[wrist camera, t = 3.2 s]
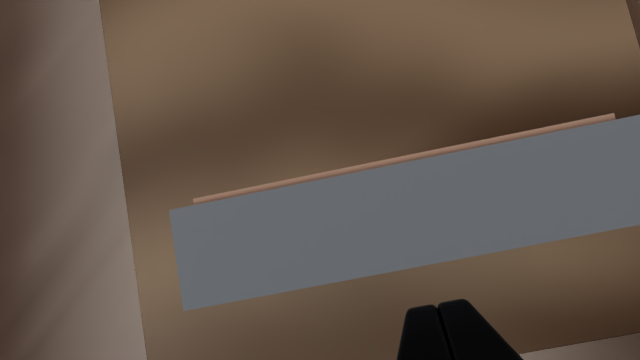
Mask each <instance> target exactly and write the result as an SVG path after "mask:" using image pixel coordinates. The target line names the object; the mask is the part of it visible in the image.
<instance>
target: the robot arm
mask: <svg viewBox="0 0 640 360" xmlns="http://www.w3.org/2000/svg"><path fill="white" fill-rule="evenodd" d="M396 360H523V359H522V358H521V357H520V355H519V354H518V353H517V352H516V351H515V350H514V349H513V348H512V347H511V346H510V345H509V344H508V343H507V342H506V340H505V339H504V338H503V337H502V336H501V335H500V334H499V333H498V332H497V331H496V330H495V329H494V328H493V327H492V326H491V324H490V323H489V322H488V321H487V320H486V319H485V318H484V317H483V316H482V315H481V314H480V313H479V312H478V311H477V309H476V308H475V307H474V306H473V305H472V304H471V303H470V302H469V301H467V300H466V299H457V300H451V301H446V302H441V303H439V304H438V306H437V307H436V306H435V305H432V304H429V305H424V306H418V307H413V308H410V309H408V310H407V312H406V315H405V320H404V325H403V329H402V334H401V339H400V344H399V349H398V354H397V359H396Z"/></svg>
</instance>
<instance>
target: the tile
mask: <svg viewBox="0 0 640 360" xmlns="http://www.w3.org/2000/svg"><path fill="white" fill-rule="evenodd" d="M193 202H194V205H192V206H187V207H182V208H177V209H172V210H169V215H170V222H171V229H172V236H173V242H174V249H175V256H176V263H177V270H178V277H179V284H180V291H181V297H182V304H183V311H187V310H192V309H198V308H203V307H208V306H214V305H219V304H224V303H229V302H235V301H240V300H245V299H251V298H256V297H261V296H266V295H272V294H277V293H282V292H288V291H293V290H298V289H303V288H309V287H314V286H319V285H325V284H330V283H335V282H340V281H346V280H351V279H356V278H362V277H367V276H372V275H377V274H383V273H388V272H393V271H399V270H404V269H409V268H414V267H420V266H425V265H430V264H436V263H441V262H446V261H452V260H457V259H462V258H467V257H473V256H478V255H483V254H489V253H494V252H499V251H504V250H510V249H515V248H520V247H526V246H531V245H536V244H541V243H547V242H552V241H557V240H563V239H568V238H573V237H578V236H584V235H589V234H594V233H600V232H605V231H610V230H615V229H621V228H626V227H631V226H637V225H640V115H635V116H630V117H626V118H621V119H616V118H615V115H614V113H611V114H607V115H602V116H597V117H592V118H587V119H582V120H577V121H572V122H567V123H562V124H558V125H553V126H548V127H543V128H538V129H533V130H528V131H523V132H518V133H513V134H508V135H504V136H499V137H494V138H489V139H484V140H479V141H474V142H469V143H464V144H459V145H455V146H450V147H445V148H440V149H435V150H430V151H425V152H420V153H415V154H410V155H405V156H401V157H396V158H391V159H386V160H381V161H376V162H371V163H366V164H361V165H356V166H351V167H347V168H342V169H337V170H332V171H327V172H322V173H317V174H312V175H307V176H302V177H298V178H293V179H288V180H283V181H278V182H273V183H268V184H263V185H258V186H253V187H248V188H244V189H239V190H234V191H229V192H224V193H219V194H214V195H209V196H204V197H199V198H195V199H193Z"/></svg>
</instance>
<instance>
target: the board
mask: <svg viewBox="0 0 640 360" xmlns="http://www.w3.org/2000/svg"><path fill="white" fill-rule="evenodd" d="M99 2H100V10H101V17H102V25H103V32H104V40H105V47H106V55H107V62H108V70H109V77H110V85H111V92H112V100H113V107H114V114H115V122H116V129H117V137H118V144H119V152H120V159H121V167H122V174H123V182H124V189H125V197H126V204H127V212H128V219H129V227H130V234H131V241H132V249H133V256H134V264H135V271H136V279H137V286H138V294H139V301H140V309H141V316H142V324H143V331H144V339H145V346H146V353H147V360H396V359H397V354H398V349H399V344H400V339H401V334H402V329H403V325H404V320H405V315H406V312H407V310H408V309H410V308H413V307H418V306H424V305H429V304H432V305H435V306H436V307H437V306H438V304H439V303H441V302H446V301H451V300H457V299H466V300H467V301H469V302H470V303H471V304H472V305H473V306H474V307H475V308H476V309H477V311H478V312H479V313H480V314H481V315H482V316H483V317H484V318H485V319H486V320H487V321H488V322H489V323H490V324H491V326H492V327H493V328H494V329H495V330H496V331H497V332H498V333H499V334H500V335H501V336H502V337H503V338H504V339H505V340H506V342H507V343H508V344H509V345H510V346H511V347H512V348H513V349H514V350H515V351H516V352H517V353H518V354H521V353H527V352H533V351H538V350H544V349H550V348H555V347H561V346H567V345H572V344H578V343H584V342H589V341H595V340H601V339H607V338H612V337H618V336H624V335H629V334H635V333H640V225H637V226H631V227H626V228H621V229H615V230H610V231H605V232H600V233H594V234H589V235H584V236H578V237H573V238H568V239H563V240H557V241H552V242H547V243H541V244H536V245H531V246H526V247H520V248H515V249H510V250H504V251H499V252H494V253H489V254H483V255H478V256H473V257H467V258H462V259H457V260H452V261H446V262H441V263H436V264H430V265H425V266H420V267H414V268H409V269H404V270H399V271H393V272H388V273H383V274H377V275H372V276H367V277H362V278H356V279H351V280H346V281H340V282H335V283H330V284H325V285H319V286H314V287H309V288H303V289H298V290H293V291H288V292H282V293H277V294H272V295H266V296H261V297H256V298H251V299H245V300H240V301H235V302H229V303H224V304H219V305H214V306H208V307H203V308H198V309H192V310H187V311H183V304H182V297H181V291H180V284H179V277H178V270H177V263H176V256H175V249H174V242H173V236H172V229H171V222H170V215H169V210H172V209H177V208H182V207H187V206H192V205H194V202H193V199H195V198H199V197H204V196H209V195H214V194H219V193H224V192H229V191H234V190H239V189H244V188H248V187H253V186H258V185H263V184H268V183H273V182H278V181H283V180H288V179H293V178H298V177H302V176H307V175H312V174H317V173H322V172H327V171H332V170H337V169H342V168H347V167H351V166H356V165H361V164H366V163H371V162H376V161H381V160H386V159H391V158H396V157H401V156H405V155H410V154H415V153H420V152H425V151H430V150H435V149H440V148H445V147H450V146H455V145H459V144H464V143H469V142H474V141H479V140H484V139H489V138H494V137H499V136H504V135H508V134H513V133H518V132H523V131H528V130H533V129H538V128H543V127H548V126H553V125H558V124H562V123H567V122H572V121H577V120H582V119H587V118H592V117H597V116H602V115H607V114H611V113H614V115H615V118H616V119H621V118H626V117H630V116H635V115H640V47H639V44H638V40H637V37H636V34H635V30H634V27H633V23H632V20H631V16H630V13H629V10H628V6H627V3H626V0H99Z"/></svg>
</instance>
